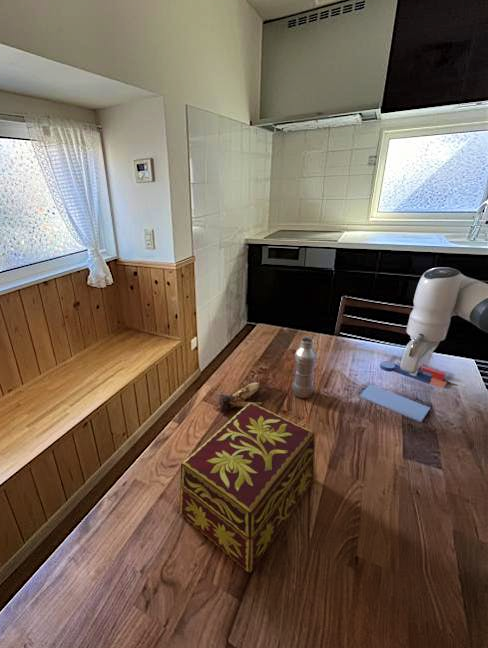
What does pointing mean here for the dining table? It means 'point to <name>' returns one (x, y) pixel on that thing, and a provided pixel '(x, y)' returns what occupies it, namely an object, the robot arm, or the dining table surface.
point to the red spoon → (434, 373)
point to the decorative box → (247, 481)
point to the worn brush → (238, 398)
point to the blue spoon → (396, 368)
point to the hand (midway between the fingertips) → (415, 372)
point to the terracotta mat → (438, 382)
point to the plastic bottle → (304, 368)
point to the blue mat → (395, 403)
